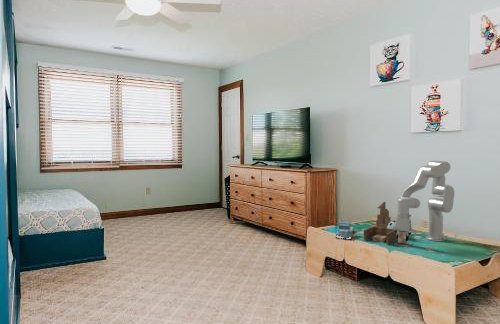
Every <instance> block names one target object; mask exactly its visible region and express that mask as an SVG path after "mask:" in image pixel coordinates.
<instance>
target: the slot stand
mask: <svg viewBox="0 0 500 324" xmlns="http://www.w3.org/2000/svg"><path fill="white" fill-rule="evenodd" d="M370 239H372V241H373V242H377V243H385V242H386V243H385V244H386V246H389V245H391V244H392V243H395V242H396V241H398V238H397V234H396V232H395V231H394V230H393V229H389V228H383V227H376V225H375V226H374V225H372V226H369V227H368V228H365V229H364V230H363V241H364V242H365V241H368V240H370Z"/></svg>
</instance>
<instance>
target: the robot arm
mask: <svg viewBox="0 0 500 324" xmlns="http://www.w3.org/2000/svg"><path fill="white" fill-rule="evenodd" d="M450 170H451V164H450V162H448V161H444V160H443V161H442V160H429V161H427V163H426V165H421V166H420V167H419V169H418V170H417V173H416V174H415V177H414V180H413V182H412V183H411V184H410V185H408V187H406V188H405V189H404V190H403V191H402V194H401V196H400V198H398V199H397V216H396V219H395V221H396V225H395V227H394V228H393V230H394V231H395V232H396V234H397V239H398V231H404V232H406V234H407V236H406V241H408V242H409V240H410V235H412V234H413V233H414V232H415V230H414V228H412V220H411V217H412V214H410V209H418V208H419V207H420V206H421V201H420V200H419V199H418V198H416V197H411V196H412V194H414V193H415V192H418V191H421V190H424V189H425V188H426V185H427V183H428V181H429V179H430V178H432V184H431V194H432V195H433V196H434V197H432V198H429V199H428V201H427V208H428V235H427V236H426V240H428V241H432V242H444V241H445V240H449V239H450V236H448V235H445V234H444V233H443V232H444V231H443V230H444V229H443V228H444V215H443V213H447V214H448V213H451V211H452V210H453V207H454V202H455V201H454V199H455V190H454V189H455V188H454V187H453V186H451V185H449V184H446V174H448V173H449V172H450ZM438 197H439V198H438Z"/></svg>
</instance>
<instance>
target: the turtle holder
mask: <svg viewBox="0 0 500 324" xmlns="http://www.w3.org/2000/svg"><path fill="white" fill-rule="evenodd" d="M391 223H392V224H391ZM395 225H396V220H392V221H391V222H390V223H389V224H388V226H387V228H389V229H393V228H394V227H395Z"/></svg>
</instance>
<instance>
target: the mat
mask: <svg viewBox="0 0 500 324" xmlns="http://www.w3.org/2000/svg"><path fill="white" fill-rule="evenodd" d="M392 245H393V246H398V247H403V248H404V247H405V248H409V247H411V246H412V245H413V243H410V242H409V243H408V242H407V243H399V242H398V241H397V242H396V241H395V242H394V243H393V244H392Z"/></svg>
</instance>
